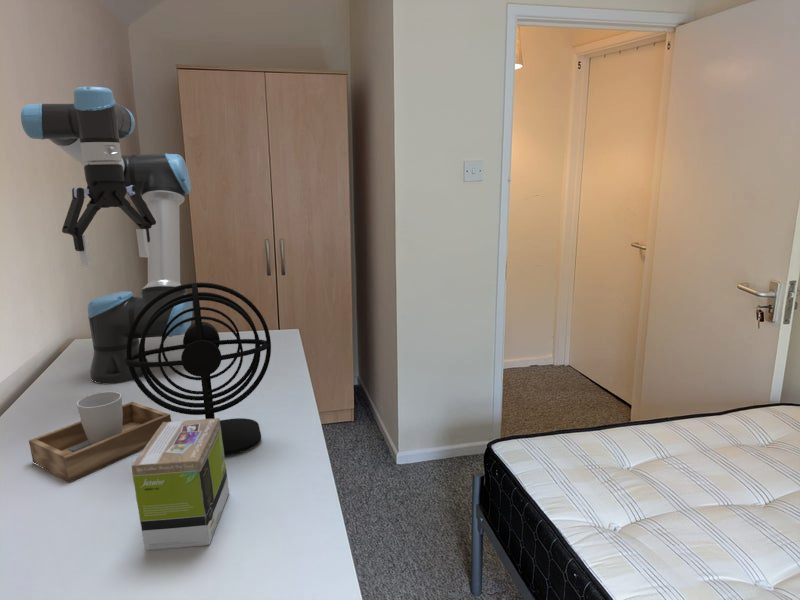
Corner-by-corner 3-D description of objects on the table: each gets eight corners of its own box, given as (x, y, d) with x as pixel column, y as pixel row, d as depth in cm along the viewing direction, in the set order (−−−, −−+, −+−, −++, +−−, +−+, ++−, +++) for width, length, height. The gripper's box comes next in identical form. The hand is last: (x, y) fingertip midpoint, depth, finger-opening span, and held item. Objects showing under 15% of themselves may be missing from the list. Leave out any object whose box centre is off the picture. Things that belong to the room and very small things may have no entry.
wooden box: (33, 463, 114) (28, 440, 113) (135, 422, 132) (132, 401, 131) (70, 482, 107) (66, 458, 106) (173, 435, 125) (170, 414, 123)
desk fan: (136, 478, 108) (110, 296, 100) (144, 438, 124) (123, 278, 116) (282, 452, 116) (268, 282, 108) (272, 418, 132) (259, 268, 124)
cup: (135, 435, 123) (129, 391, 121) (113, 454, 115) (106, 407, 113) (99, 434, 124) (92, 391, 121) (75, 453, 116) (67, 407, 114)
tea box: (172, 497, 101) (162, 419, 98) (230, 493, 102) (222, 415, 98) (142, 552, 86) (129, 463, 83) (210, 547, 87) (200, 458, 84)
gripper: (51, 163, 111) (68, 271, 116) (164, 162, 132) (175, 254, 136) (32, 164, 115) (50, 268, 120) (145, 163, 136) (156, 252, 140)
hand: (116, 261), depth 128 cm, fingers open, 13 cm apart
